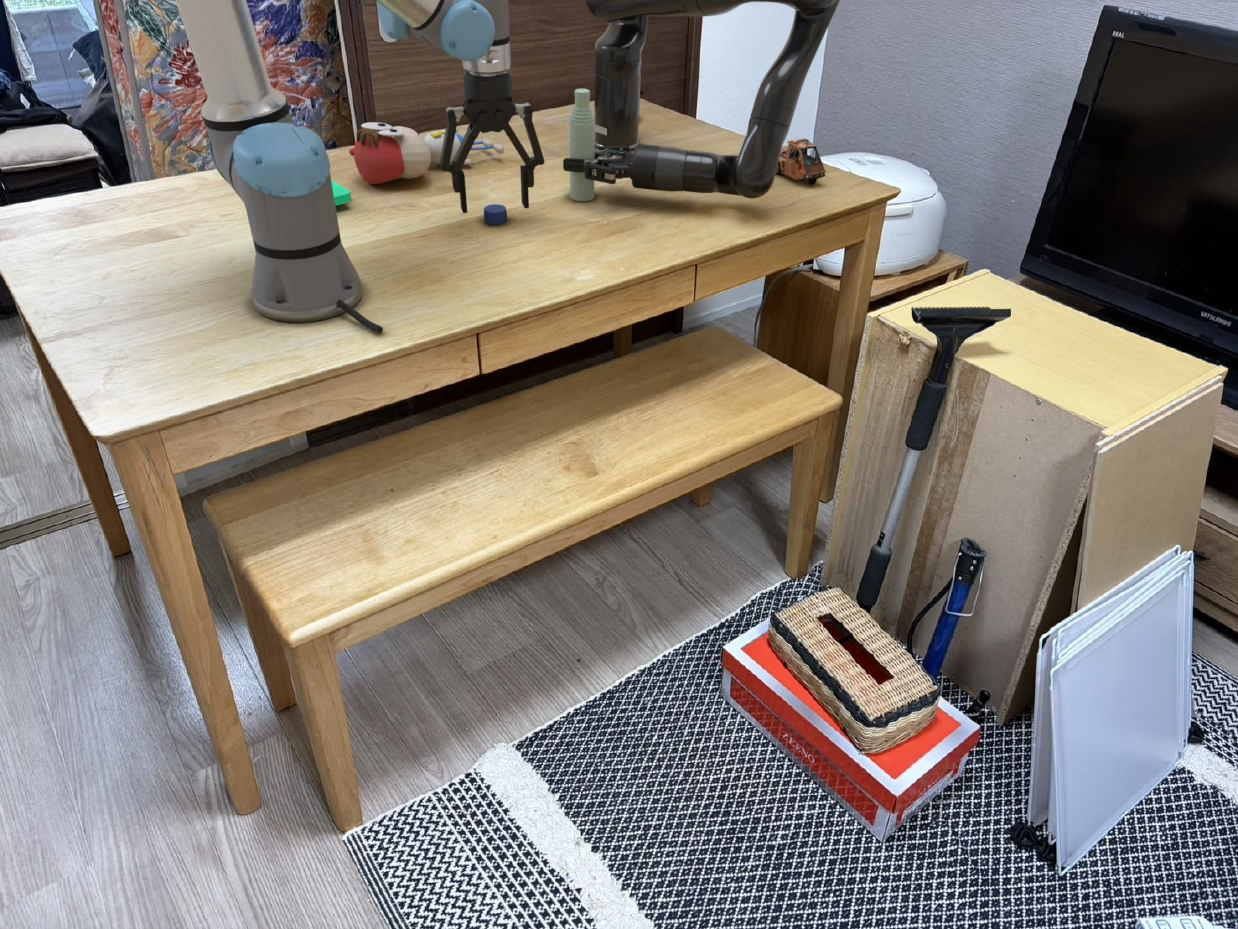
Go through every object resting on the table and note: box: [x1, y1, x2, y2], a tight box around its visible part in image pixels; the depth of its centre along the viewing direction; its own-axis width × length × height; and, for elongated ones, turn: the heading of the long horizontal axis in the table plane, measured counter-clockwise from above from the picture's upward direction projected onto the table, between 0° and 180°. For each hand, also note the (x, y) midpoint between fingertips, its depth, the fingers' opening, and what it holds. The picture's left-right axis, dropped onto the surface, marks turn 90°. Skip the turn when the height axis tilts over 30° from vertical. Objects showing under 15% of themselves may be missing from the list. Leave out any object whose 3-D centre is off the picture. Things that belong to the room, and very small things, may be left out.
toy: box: [348, 121, 505, 185], centre depth 177 cm, size 18×10×30 cm
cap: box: [483, 203, 508, 226], centre depth 159 cm, size 4×4×2 cm
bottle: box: [569, 88, 596, 202], centre depth 164 cm, size 4×4×19 cm
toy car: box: [775, 138, 827, 186], centre depth 178 cm, size 6×12×7 cm, turn 39°
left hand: (494, 207), depth 158 cm, fingers open, 10 cm apart
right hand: (567, 159), depth 166 cm, fingers closed on bottle, 4 cm apart
